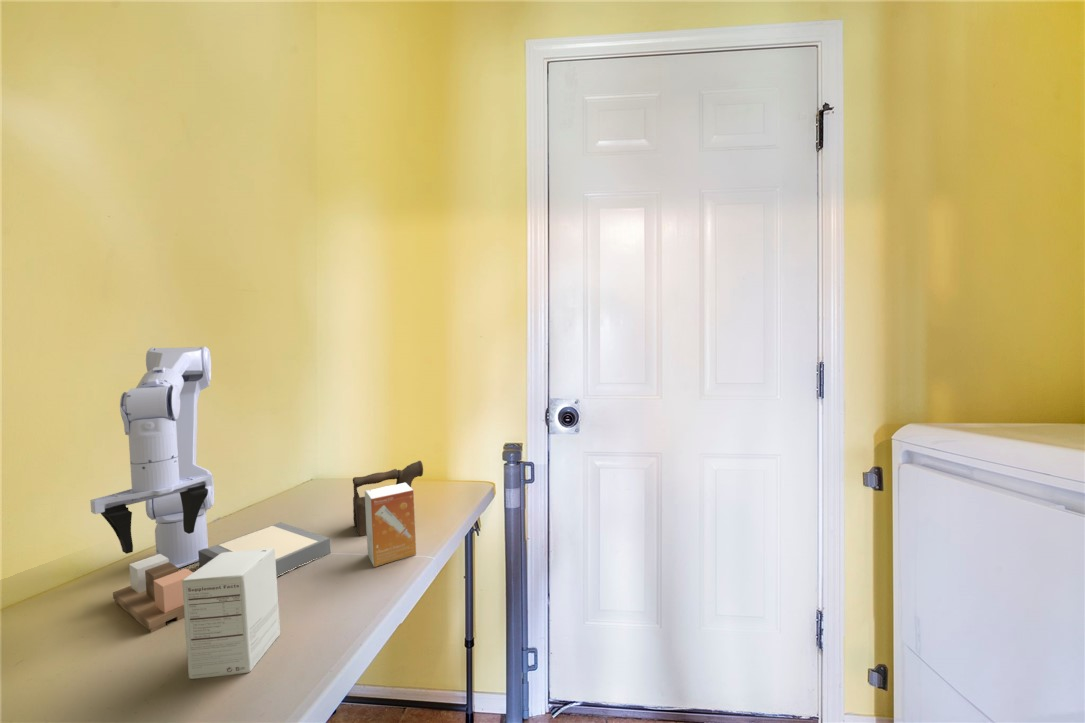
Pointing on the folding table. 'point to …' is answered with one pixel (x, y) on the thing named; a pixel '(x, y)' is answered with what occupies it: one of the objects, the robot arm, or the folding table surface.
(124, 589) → the pallet
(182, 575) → the block
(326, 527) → the folding table surface
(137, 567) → the block
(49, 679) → the folding table surface
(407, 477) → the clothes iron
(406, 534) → the small box
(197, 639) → the supplement box
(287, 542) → the dock
